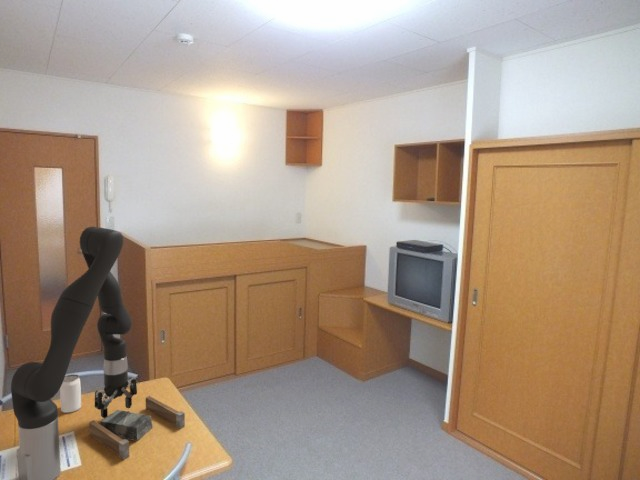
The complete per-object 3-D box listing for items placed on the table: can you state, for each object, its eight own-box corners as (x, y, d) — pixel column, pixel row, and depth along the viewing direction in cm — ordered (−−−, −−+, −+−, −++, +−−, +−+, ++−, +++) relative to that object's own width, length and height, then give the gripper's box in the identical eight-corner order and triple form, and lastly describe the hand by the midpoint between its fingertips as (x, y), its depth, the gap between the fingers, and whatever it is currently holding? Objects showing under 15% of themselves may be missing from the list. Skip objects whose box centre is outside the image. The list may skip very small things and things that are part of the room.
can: (56, 411, 152) (54, 380, 150) (71, 402, 158) (70, 372, 156) (70, 415, 150) (69, 383, 148) (85, 406, 156) (84, 375, 154)
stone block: (119, 420, 148) (119, 406, 148) (154, 427, 145) (154, 413, 144) (100, 434, 140) (99, 419, 139) (137, 442, 136) (137, 427, 136)
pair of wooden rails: (123, 459, 127) (122, 444, 127) (88, 435, 138) (88, 421, 138) (184, 426, 146) (184, 412, 145) (150, 407, 157) (149, 394, 156)
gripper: (101, 379, 139) (102, 425, 141) (140, 365, 150) (141, 407, 153) (89, 373, 143) (91, 417, 145) (128, 359, 154) (129, 401, 157)
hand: (116, 412), depth 149 cm, fingers open, 8 cm apart
